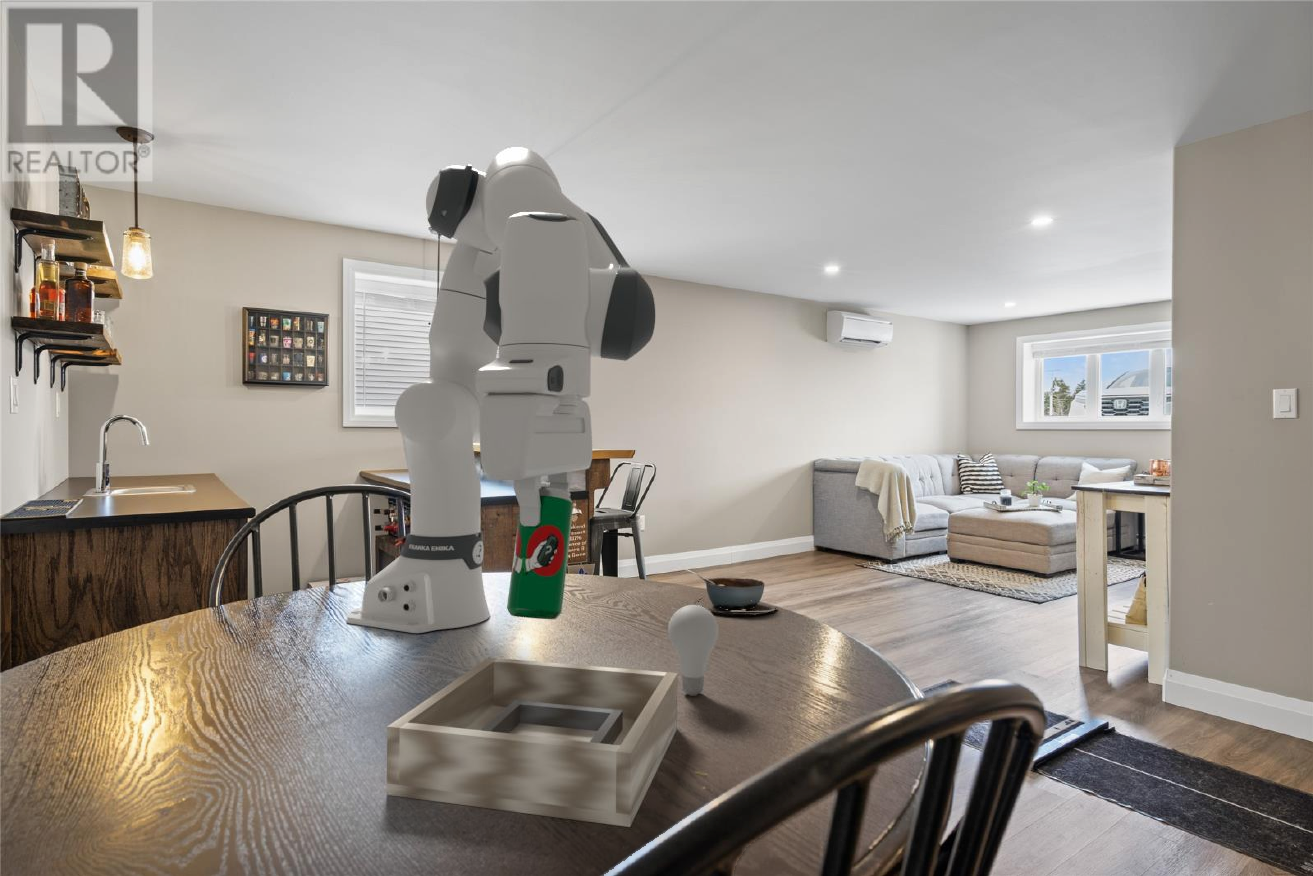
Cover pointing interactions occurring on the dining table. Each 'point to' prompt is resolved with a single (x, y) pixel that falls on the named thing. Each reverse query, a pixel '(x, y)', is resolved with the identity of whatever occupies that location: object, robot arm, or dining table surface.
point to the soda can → (542, 559)
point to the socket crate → (537, 740)
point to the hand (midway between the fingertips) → (544, 521)
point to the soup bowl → (734, 594)
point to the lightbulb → (693, 644)
